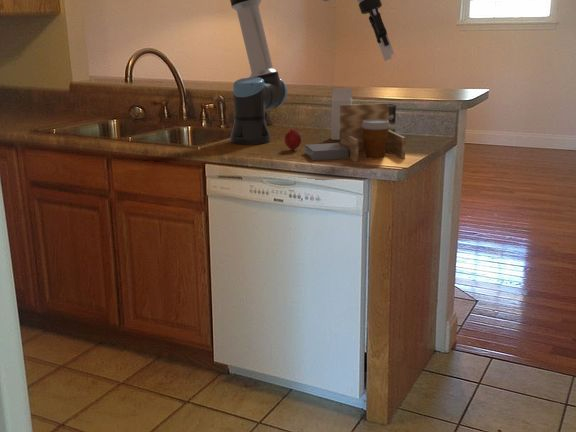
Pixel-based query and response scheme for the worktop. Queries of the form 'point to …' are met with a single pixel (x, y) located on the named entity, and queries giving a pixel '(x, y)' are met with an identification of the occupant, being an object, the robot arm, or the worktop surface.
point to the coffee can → (392, 117)
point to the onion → (292, 139)
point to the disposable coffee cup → (375, 137)
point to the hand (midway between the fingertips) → (389, 57)
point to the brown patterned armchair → (354, 132)
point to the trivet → (326, 151)
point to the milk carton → (339, 99)
